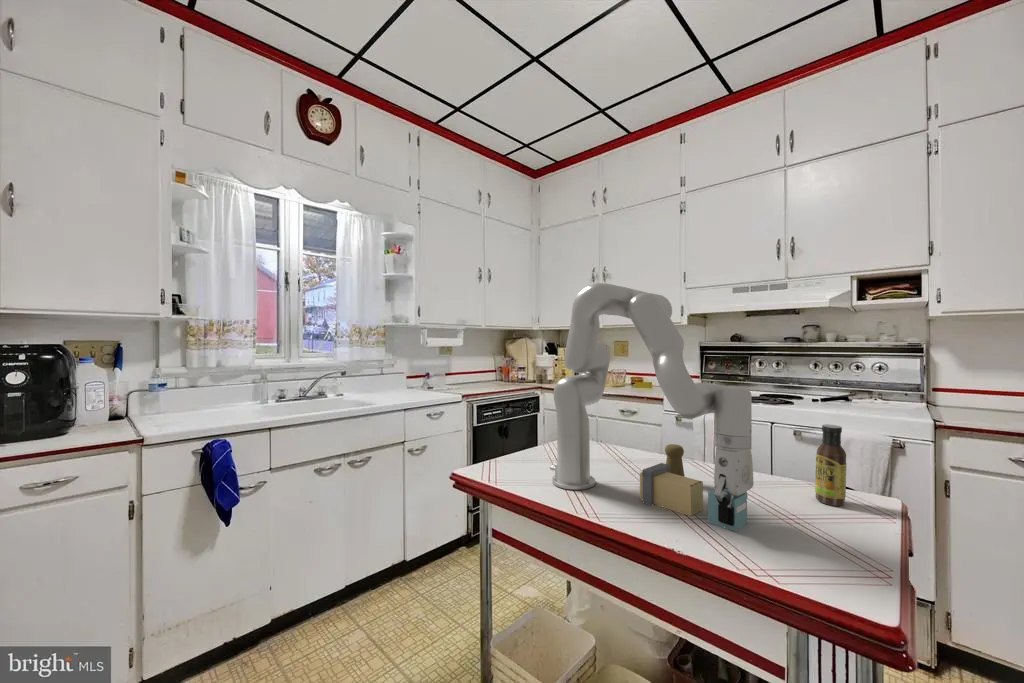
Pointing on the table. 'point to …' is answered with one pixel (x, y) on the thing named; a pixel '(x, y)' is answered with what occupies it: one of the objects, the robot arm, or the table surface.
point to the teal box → (738, 506)
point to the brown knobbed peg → (675, 459)
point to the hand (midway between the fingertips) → (732, 518)
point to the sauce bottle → (831, 468)
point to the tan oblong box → (671, 490)
